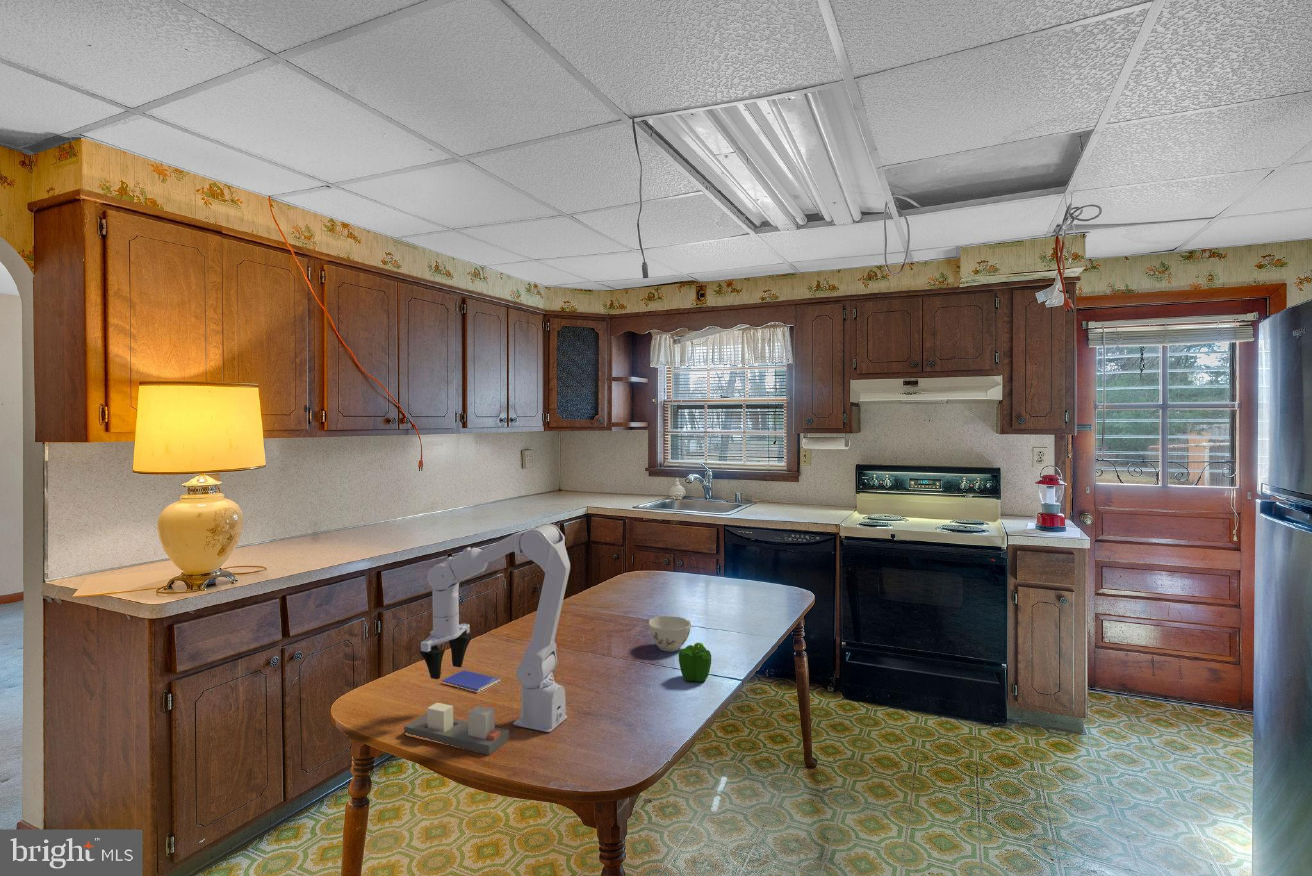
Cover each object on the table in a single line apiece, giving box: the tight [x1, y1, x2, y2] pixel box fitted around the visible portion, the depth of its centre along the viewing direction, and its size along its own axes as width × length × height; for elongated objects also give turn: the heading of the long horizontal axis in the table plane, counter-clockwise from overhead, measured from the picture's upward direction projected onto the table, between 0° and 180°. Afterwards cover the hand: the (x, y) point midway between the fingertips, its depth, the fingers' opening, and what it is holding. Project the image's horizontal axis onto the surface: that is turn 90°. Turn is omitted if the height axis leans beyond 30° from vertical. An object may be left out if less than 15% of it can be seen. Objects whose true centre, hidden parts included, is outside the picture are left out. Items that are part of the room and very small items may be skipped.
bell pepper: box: [678, 641, 712, 683], centre depth 172 cm, size 8×8×10 cm
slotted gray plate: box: [403, 705, 510, 756], centre depth 141 cm, size 22×7×7 cm, turn 68°
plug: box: [426, 702, 454, 732], centre depth 142 cm, size 4×3×6 cm
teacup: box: [648, 615, 692, 653], centre depth 196 cm, size 15×12×8 cm
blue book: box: [441, 670, 501, 692], centre depth 170 cm, size 2×8×12 cm
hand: (446, 672), depth 153 cm, fingers open, 7 cm apart
